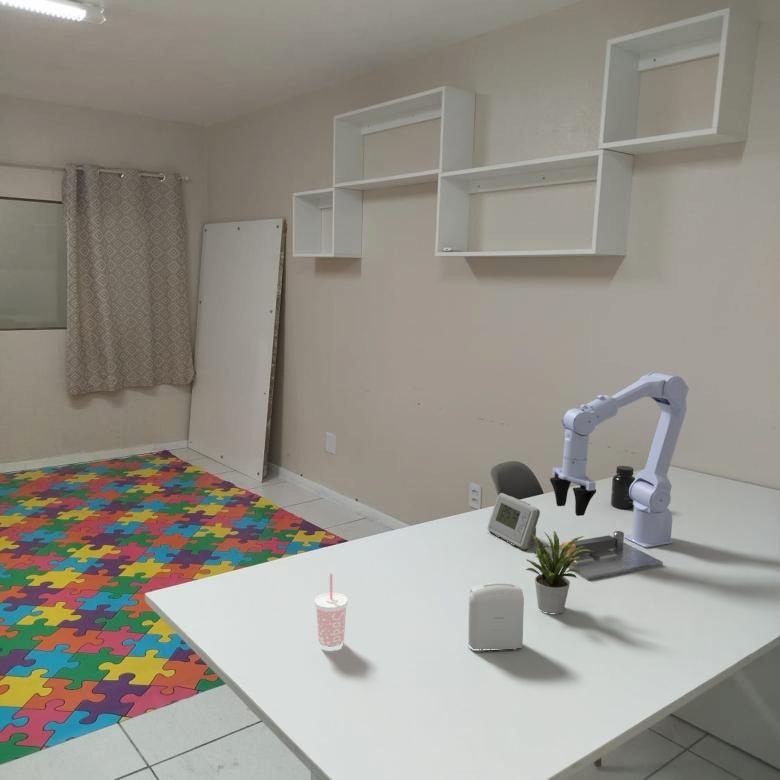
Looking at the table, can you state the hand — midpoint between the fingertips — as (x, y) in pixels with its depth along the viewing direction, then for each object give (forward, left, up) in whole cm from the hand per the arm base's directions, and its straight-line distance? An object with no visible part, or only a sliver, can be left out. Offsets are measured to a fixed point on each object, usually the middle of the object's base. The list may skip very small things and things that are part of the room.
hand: (570, 510), depth 178 cm
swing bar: (-2, +6, -9) cm, 11 cm away
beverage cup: (+70, +22, -11) cm, 74 cm away
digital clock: (+9, -11, -11) cm, 18 cm away
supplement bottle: (-37, -22, -11) cm, 44 cm away
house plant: (+22, +26, -11) cm, 36 cm away
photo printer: (+42, +34, -11) cm, 55 cm away
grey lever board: (-4, +8, -10) cm, 14 cm away
